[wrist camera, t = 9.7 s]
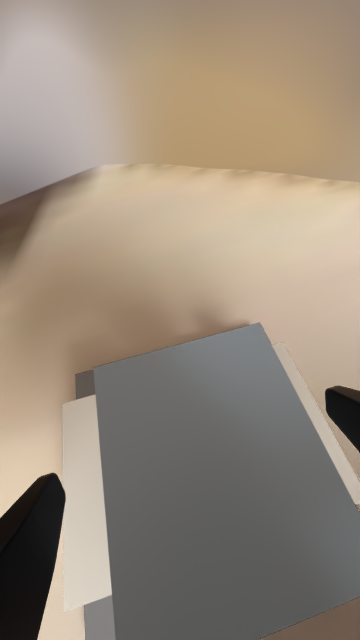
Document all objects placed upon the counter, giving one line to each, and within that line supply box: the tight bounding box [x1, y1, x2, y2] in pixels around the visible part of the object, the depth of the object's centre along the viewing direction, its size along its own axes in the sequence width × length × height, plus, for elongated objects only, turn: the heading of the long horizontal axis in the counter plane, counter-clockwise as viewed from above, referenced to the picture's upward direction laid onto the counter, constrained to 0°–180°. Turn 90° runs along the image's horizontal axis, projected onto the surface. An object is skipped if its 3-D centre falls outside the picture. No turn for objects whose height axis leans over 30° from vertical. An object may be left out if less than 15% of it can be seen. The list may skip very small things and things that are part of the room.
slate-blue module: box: [93, 323, 360, 640], centre depth 9 cm, size 5×4×11 cm
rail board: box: [62, 342, 360, 640], centre depth 13 cm, size 14×15×4 cm
